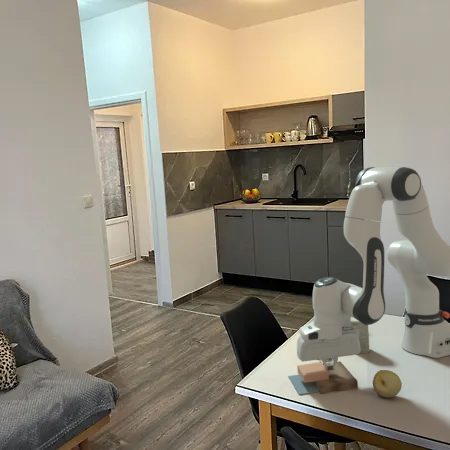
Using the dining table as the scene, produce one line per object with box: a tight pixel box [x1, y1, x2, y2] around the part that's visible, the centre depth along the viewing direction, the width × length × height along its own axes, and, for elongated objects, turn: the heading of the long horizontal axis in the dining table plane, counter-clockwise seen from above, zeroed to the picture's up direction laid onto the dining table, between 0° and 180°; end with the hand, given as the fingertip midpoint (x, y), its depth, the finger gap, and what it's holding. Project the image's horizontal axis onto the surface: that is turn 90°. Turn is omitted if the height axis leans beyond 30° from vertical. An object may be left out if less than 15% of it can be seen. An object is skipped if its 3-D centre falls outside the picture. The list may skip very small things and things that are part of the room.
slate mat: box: [288, 374, 320, 396], centre depth 145 cm, size 8×12×1 cm, turn 8°
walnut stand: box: [313, 360, 359, 395], centre depth 146 cm, size 12×14×2 cm
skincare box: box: [350, 317, 370, 354], centre depth 165 cm, size 6×4×12 cm
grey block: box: [342, 314, 351, 327], centre depth 181 cm, size 4×7×10 cm, turn 71°
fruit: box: [372, 369, 403, 398], centre depth 134 cm, size 8×8×8 cm
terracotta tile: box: [296, 361, 329, 383], centre depth 145 cm, size 8×7×2 cm
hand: (329, 369), depth 146 cm, fingers closed
